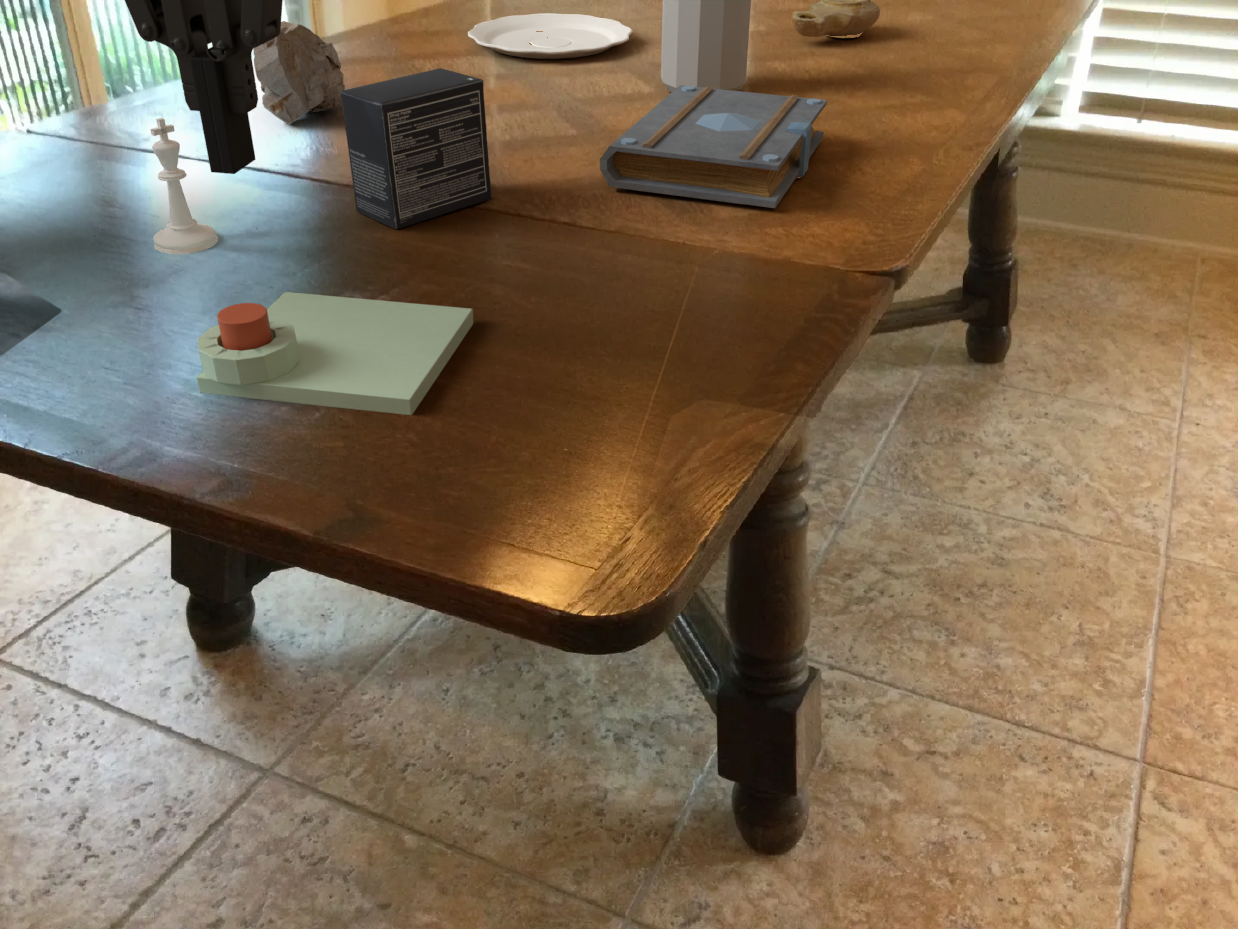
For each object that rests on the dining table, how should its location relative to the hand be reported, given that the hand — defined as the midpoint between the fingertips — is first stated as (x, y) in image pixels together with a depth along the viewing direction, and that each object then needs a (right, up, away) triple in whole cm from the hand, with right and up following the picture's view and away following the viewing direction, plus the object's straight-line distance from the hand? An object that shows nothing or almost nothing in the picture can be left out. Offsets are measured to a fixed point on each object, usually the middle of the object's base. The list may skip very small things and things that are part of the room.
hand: (233, 165), depth 69 cm
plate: (+14, +36, +81) cm, 90 cm away
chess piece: (-12, 0, +25) cm, 27 cm away
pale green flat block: (+5, -11, +8) cm, 14 cm away
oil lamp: (+52, +38, +85) cm, 106 cm away
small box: (+6, +5, +32) cm, 33 cm away
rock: (-10, +19, +54) cm, 58 cm away
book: (+33, +11, +41) cm, 54 cm away
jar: (+33, +25, +64) cm, 76 cm away
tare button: (-1, -10, +4) cm, 11 cm away
